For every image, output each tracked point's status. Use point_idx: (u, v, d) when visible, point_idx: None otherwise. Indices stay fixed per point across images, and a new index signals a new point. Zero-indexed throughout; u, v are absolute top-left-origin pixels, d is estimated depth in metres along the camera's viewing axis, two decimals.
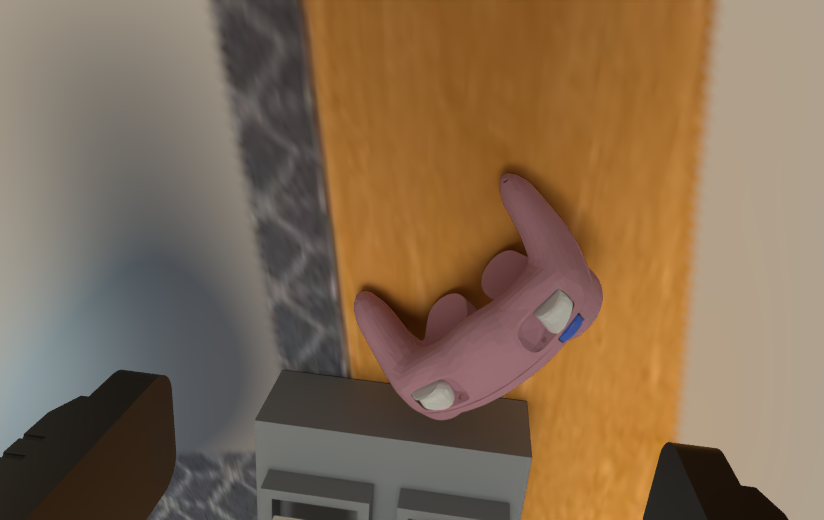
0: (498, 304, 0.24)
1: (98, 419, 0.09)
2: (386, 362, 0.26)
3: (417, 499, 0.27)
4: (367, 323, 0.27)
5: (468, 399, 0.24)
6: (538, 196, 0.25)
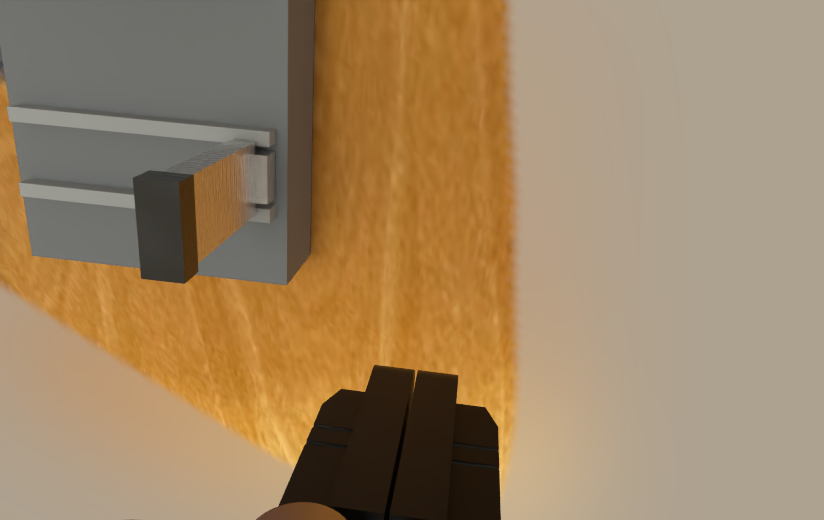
0: None
1: (388, 410, 0.09)
2: None
3: None
4: None
5: None
6: None
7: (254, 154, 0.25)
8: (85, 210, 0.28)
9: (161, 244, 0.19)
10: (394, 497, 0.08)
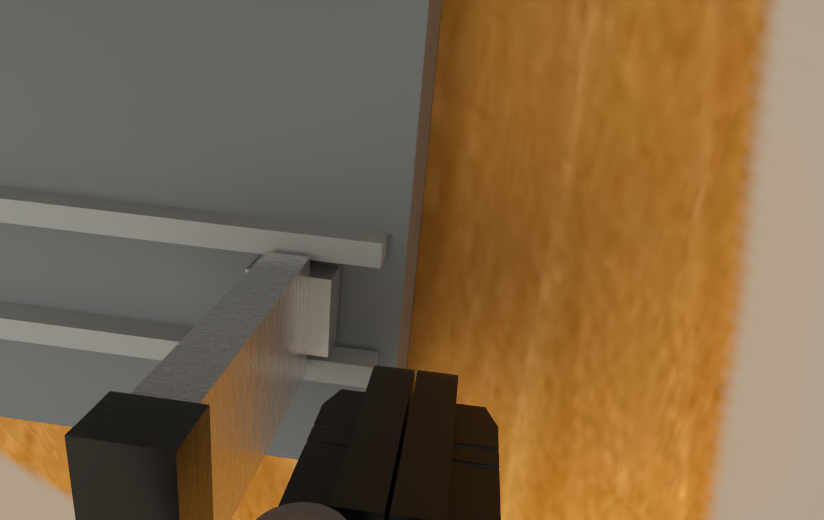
0: None
1: (389, 409, 0.09)
2: None
3: None
4: None
5: None
6: None
7: (309, 276, 0.14)
8: (60, 349, 0.17)
9: None
10: (394, 497, 0.08)
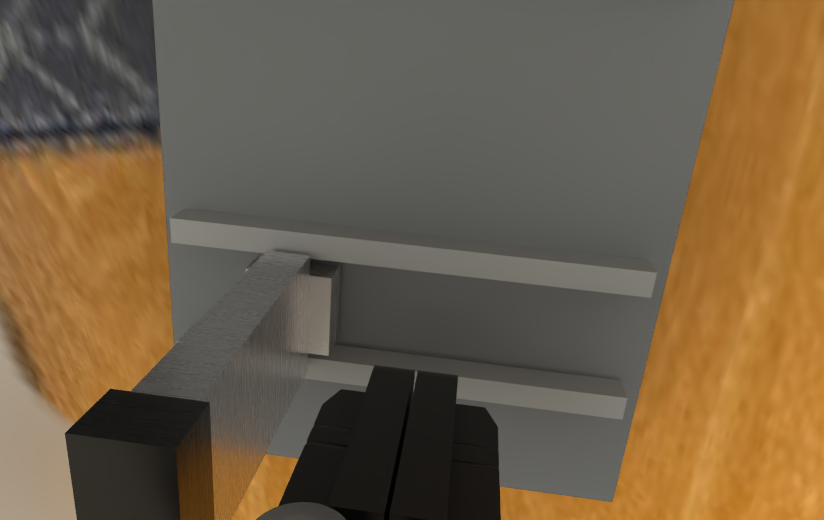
0: None
1: (388, 409, 0.09)
2: None
3: None
4: None
5: None
6: None
7: (309, 275, 0.14)
8: None
9: None
10: (394, 497, 0.08)
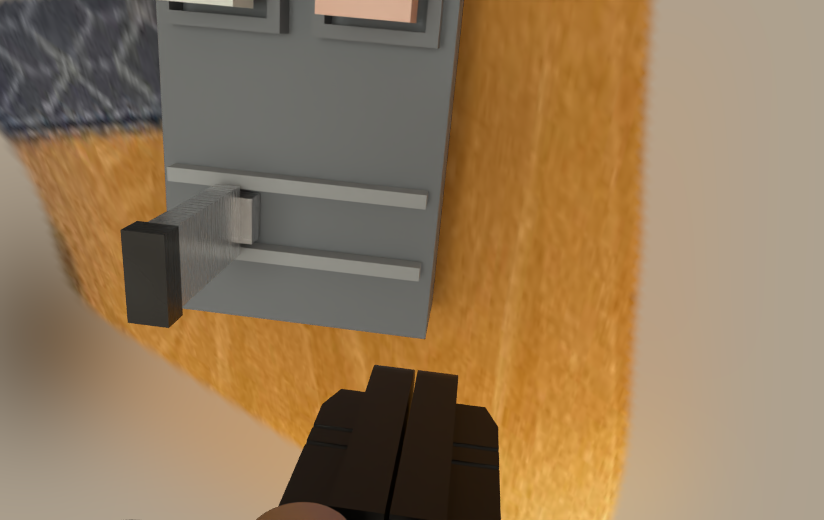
0: None
1: (388, 409, 0.09)
2: None
3: None
4: None
5: None
6: None
7: (239, 197, 0.26)
8: (230, 264, 0.29)
9: (146, 291, 0.20)
10: (394, 497, 0.08)
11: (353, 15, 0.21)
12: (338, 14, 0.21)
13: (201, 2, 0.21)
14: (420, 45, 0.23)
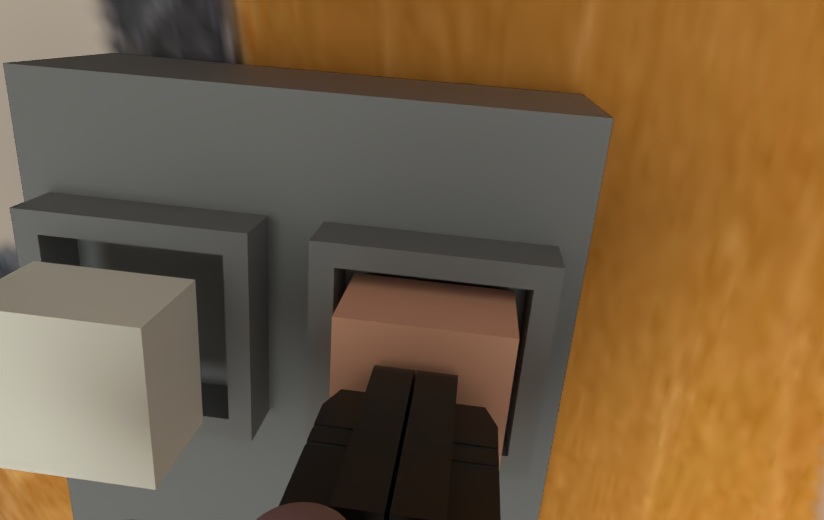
0: None
1: (388, 410, 0.09)
2: None
3: (357, 234, 0.12)
4: None
5: None
6: None
7: None
8: None
9: None
10: (394, 497, 0.08)
11: None
12: None
13: (96, 480, 0.11)
14: None
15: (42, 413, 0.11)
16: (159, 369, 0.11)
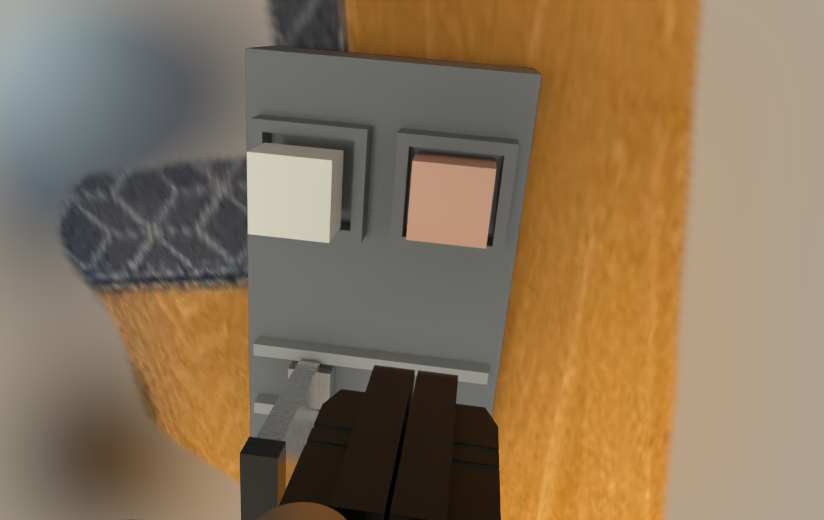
0: None
1: (388, 409, 0.09)
2: None
3: (418, 132, 0.26)
4: None
5: None
6: None
7: (319, 372, 0.29)
8: None
9: (259, 500, 0.23)
10: (394, 497, 0.08)
11: (438, 242, 0.25)
12: (426, 240, 0.25)
13: (301, 239, 0.24)
14: (487, 256, 0.26)
15: (280, 205, 0.24)
16: (334, 184, 0.24)
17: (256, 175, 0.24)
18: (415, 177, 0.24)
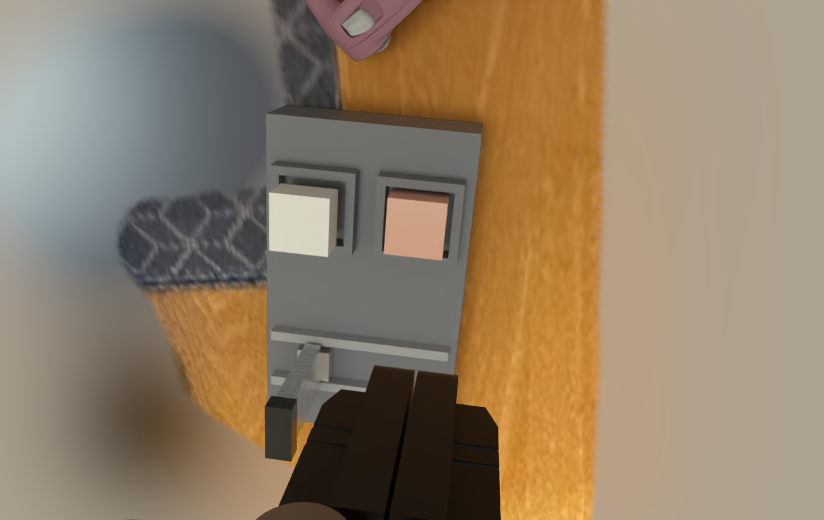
0: None
1: (389, 409, 0.09)
2: (323, 11, 0.33)
3: (393, 175, 0.35)
4: None
5: (383, 16, 0.31)
6: None
7: (321, 352, 0.39)
8: None
9: (278, 440, 0.33)
10: (394, 497, 0.08)
11: (407, 255, 0.34)
12: (398, 254, 0.35)
13: (308, 254, 0.34)
14: (444, 265, 0.36)
15: (292, 229, 0.33)
16: (331, 215, 0.33)
17: (275, 209, 0.33)
18: (390, 209, 0.34)
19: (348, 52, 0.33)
